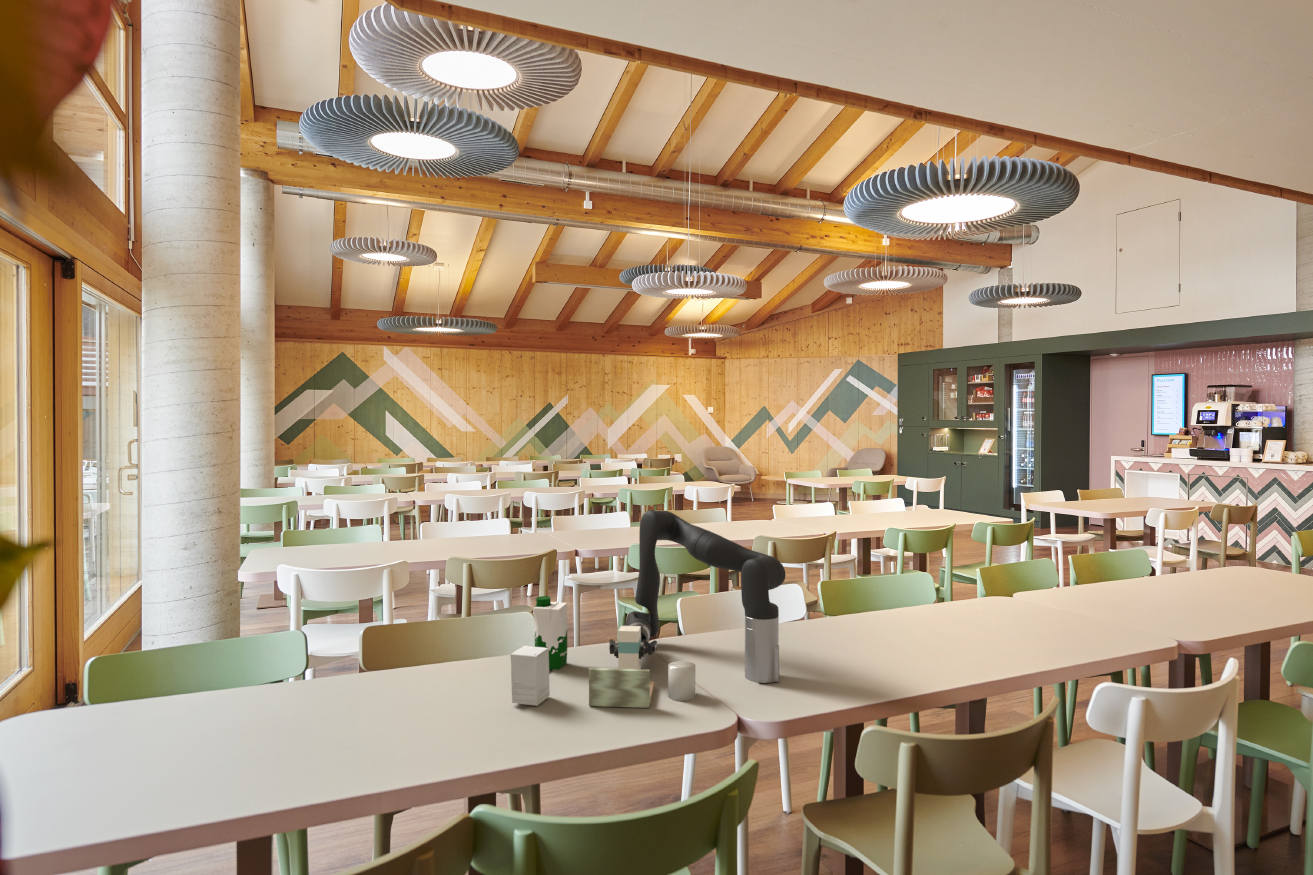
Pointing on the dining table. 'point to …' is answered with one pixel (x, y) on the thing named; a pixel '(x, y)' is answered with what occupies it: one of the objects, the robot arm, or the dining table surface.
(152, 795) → the dining table surface
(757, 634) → the robot arm
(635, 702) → the display bay
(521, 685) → the supplement box
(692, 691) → the white tapered tumbler
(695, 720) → the dining table surface
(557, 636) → the milk carton
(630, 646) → the oat carton
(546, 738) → the dining table surface
